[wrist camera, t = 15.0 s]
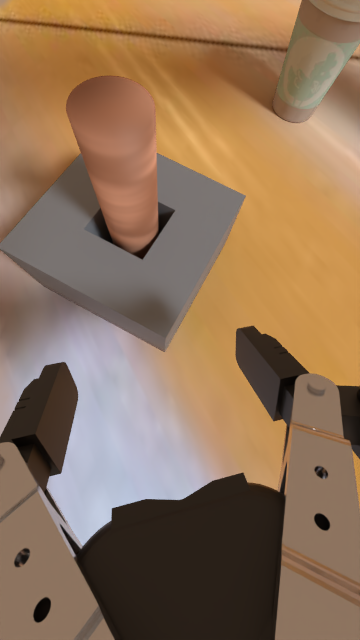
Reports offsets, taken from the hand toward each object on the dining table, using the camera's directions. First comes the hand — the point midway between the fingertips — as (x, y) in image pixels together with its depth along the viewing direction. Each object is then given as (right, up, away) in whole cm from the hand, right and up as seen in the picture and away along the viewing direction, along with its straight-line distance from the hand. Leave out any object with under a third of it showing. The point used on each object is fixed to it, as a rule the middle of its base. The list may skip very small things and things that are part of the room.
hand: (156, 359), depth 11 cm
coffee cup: (+17, +32, +23) cm, 43 cm away
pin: (-3, +8, +13) cm, 16 cm away
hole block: (-3, +8, +14) cm, 16 cm away
